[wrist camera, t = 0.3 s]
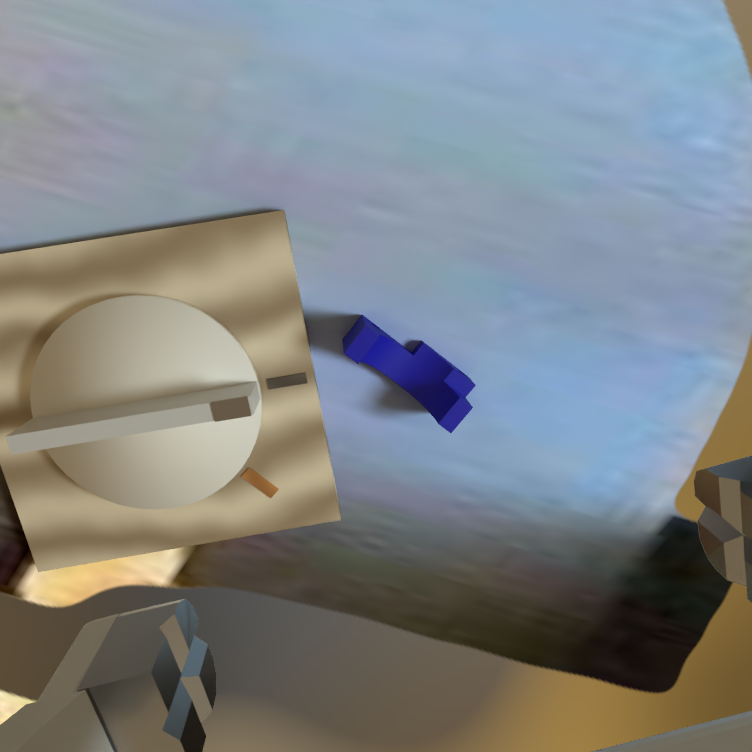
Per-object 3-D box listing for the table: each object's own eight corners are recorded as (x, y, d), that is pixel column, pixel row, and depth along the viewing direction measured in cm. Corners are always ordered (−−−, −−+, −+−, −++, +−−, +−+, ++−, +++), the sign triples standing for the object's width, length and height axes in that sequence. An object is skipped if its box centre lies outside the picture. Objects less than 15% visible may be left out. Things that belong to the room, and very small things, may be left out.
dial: (7, 313, 51) (-35, 326, 45) (237, 277, 51) (225, 285, 45) (74, 518, 56) (44, 553, 50) (281, 483, 56) (275, 513, 51)
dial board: (-59, 263, 51) (-72, 265, 49) (284, 210, 51) (282, 209, 50) (45, 563, 59) (37, 572, 57) (340, 512, 60) (340, 520, 58)
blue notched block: (468, 376, 57) (483, 394, 51) (438, 411, 58) (450, 433, 52) (371, 301, 54) (376, 311, 49) (342, 339, 55) (343, 353, 49)
